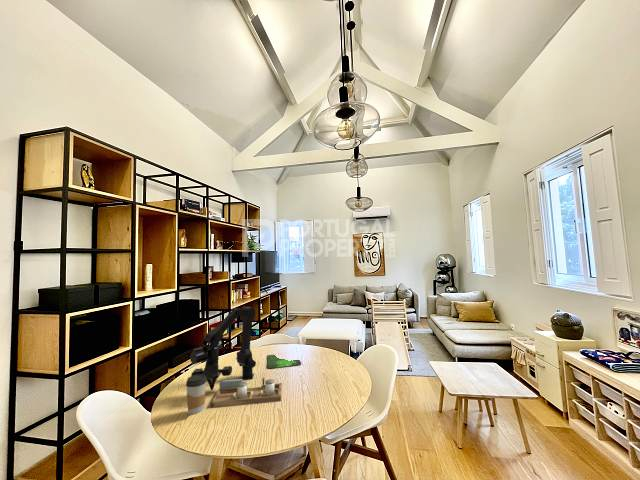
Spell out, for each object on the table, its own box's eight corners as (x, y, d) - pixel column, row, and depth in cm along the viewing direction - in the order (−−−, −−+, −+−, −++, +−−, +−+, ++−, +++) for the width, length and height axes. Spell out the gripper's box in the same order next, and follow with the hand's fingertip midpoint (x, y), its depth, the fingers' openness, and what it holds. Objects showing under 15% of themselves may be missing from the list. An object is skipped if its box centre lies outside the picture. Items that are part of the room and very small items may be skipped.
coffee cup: (210, 410, 116) (210, 375, 117) (193, 420, 109) (193, 383, 110) (198, 406, 120) (199, 372, 122) (181, 415, 113) (182, 379, 114)
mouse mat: (266, 355, 187) (266, 354, 187) (296, 352, 192) (296, 351, 192) (266, 370, 161) (266, 368, 161) (302, 365, 165) (302, 364, 166)
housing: (220, 393, 132) (220, 381, 133) (281, 387, 136) (281, 376, 137) (211, 410, 116) (211, 397, 117) (280, 403, 120) (280, 390, 121)
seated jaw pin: (238, 396, 125) (238, 382, 126) (247, 395, 126) (247, 381, 127) (236, 401, 121) (236, 386, 122) (246, 400, 122) (246, 385, 122)
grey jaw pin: (265, 393, 127) (265, 379, 128) (274, 393, 128) (274, 378, 129) (265, 398, 123) (265, 383, 124) (274, 397, 123) (274, 382, 124)
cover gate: (220, 389, 133) (220, 380, 134) (242, 387, 135) (242, 378, 135) (219, 391, 131) (219, 382, 131) (242, 389, 132) (242, 380, 133)
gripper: (187, 365, 124) (186, 399, 123) (227, 362, 126) (227, 395, 125) (195, 357, 135) (194, 388, 134) (232, 354, 137) (232, 385, 136)
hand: (212, 389), depth 132 cm, fingers closed
